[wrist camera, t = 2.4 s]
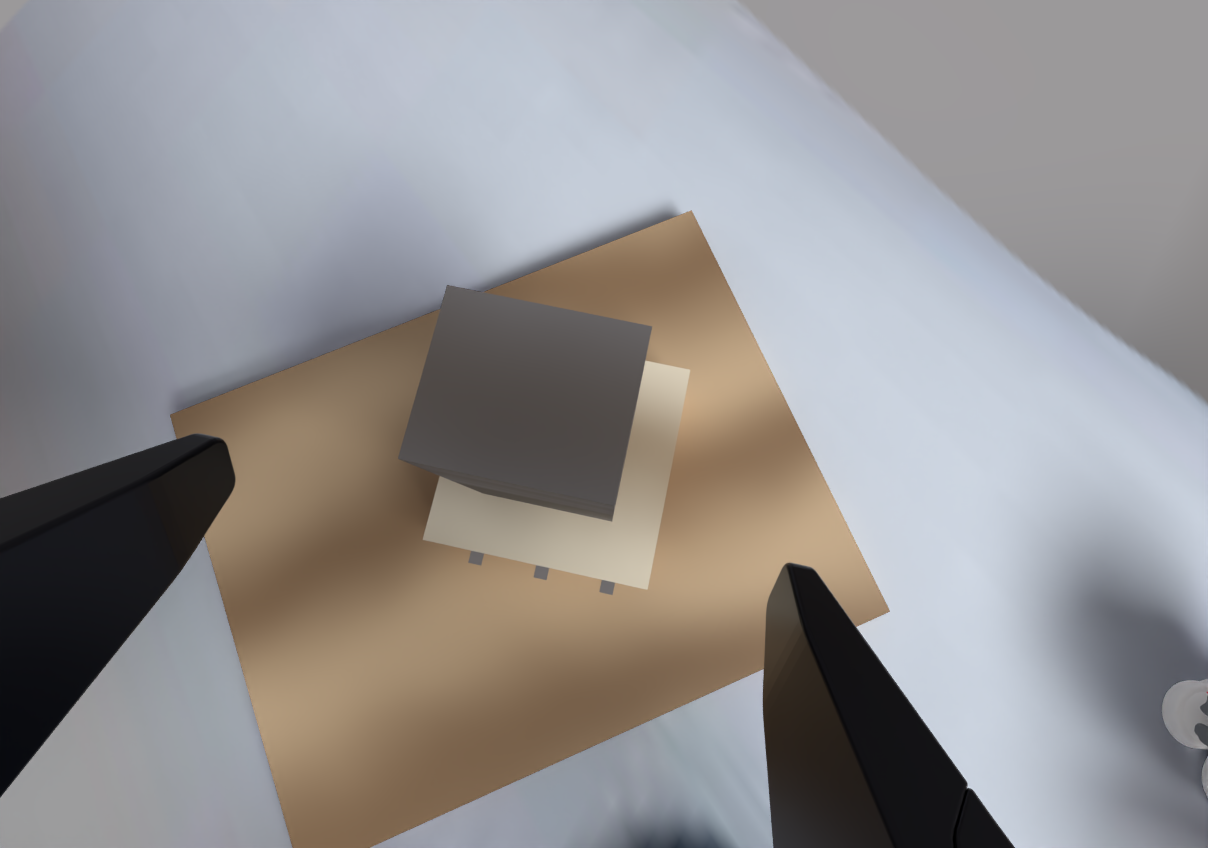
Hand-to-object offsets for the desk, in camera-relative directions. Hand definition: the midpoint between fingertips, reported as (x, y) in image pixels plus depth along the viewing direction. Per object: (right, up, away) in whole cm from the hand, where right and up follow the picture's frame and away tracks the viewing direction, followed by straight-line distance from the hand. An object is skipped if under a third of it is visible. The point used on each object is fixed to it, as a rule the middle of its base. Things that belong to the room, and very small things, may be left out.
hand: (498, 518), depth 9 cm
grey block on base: (0, 0, +9) cm, 9 cm away
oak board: (-1, -1, +10) cm, 10 cm away
